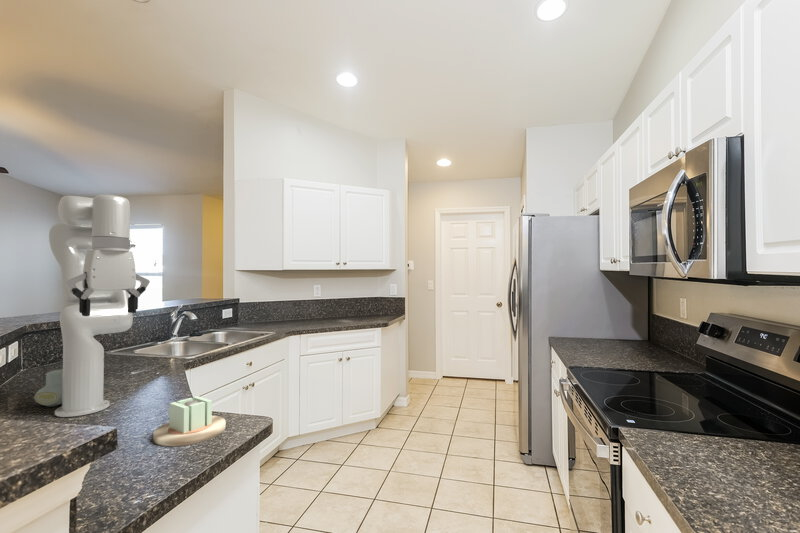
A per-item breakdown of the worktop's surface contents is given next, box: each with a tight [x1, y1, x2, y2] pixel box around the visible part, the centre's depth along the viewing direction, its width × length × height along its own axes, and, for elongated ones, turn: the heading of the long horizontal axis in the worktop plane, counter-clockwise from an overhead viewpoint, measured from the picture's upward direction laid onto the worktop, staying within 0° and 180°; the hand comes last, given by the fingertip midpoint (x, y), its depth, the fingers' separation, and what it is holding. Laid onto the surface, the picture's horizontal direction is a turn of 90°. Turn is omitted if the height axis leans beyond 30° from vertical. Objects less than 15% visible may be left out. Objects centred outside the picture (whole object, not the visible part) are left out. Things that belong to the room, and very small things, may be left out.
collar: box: [169, 395, 213, 433], centre depth 98 cm, size 7×7×6 cm
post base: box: [152, 401, 227, 447], centre depth 97 cm, size 16×16×8 cm
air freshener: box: [34, 368, 63, 407], centre depth 121 cm, size 11×8×10 cm
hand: (109, 314), depth 95 cm, fingers open, 9 cm apart
